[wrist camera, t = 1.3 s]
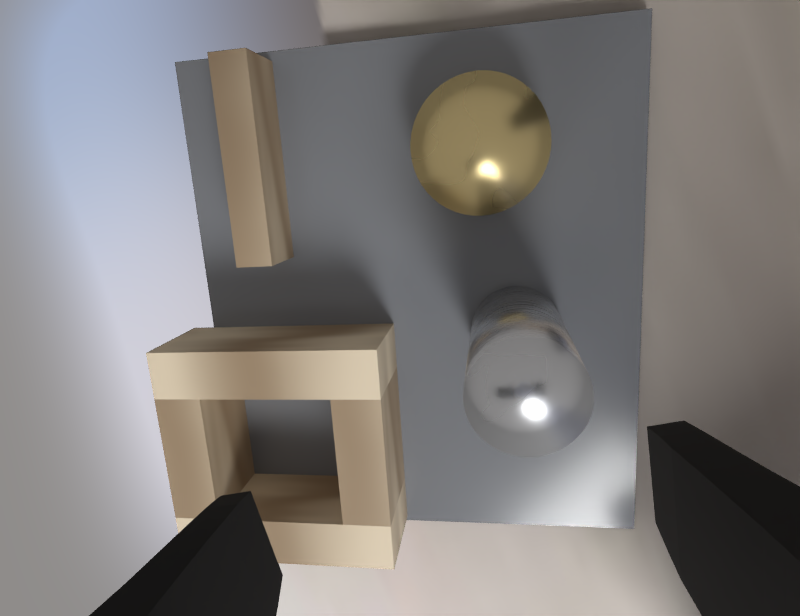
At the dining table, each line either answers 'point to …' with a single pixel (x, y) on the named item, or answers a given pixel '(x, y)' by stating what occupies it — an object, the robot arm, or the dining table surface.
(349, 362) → the beech socket block
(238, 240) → the beech rail
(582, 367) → the steel pin
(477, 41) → the slate board
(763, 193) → the dining table surface
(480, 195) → the gold metal dome
